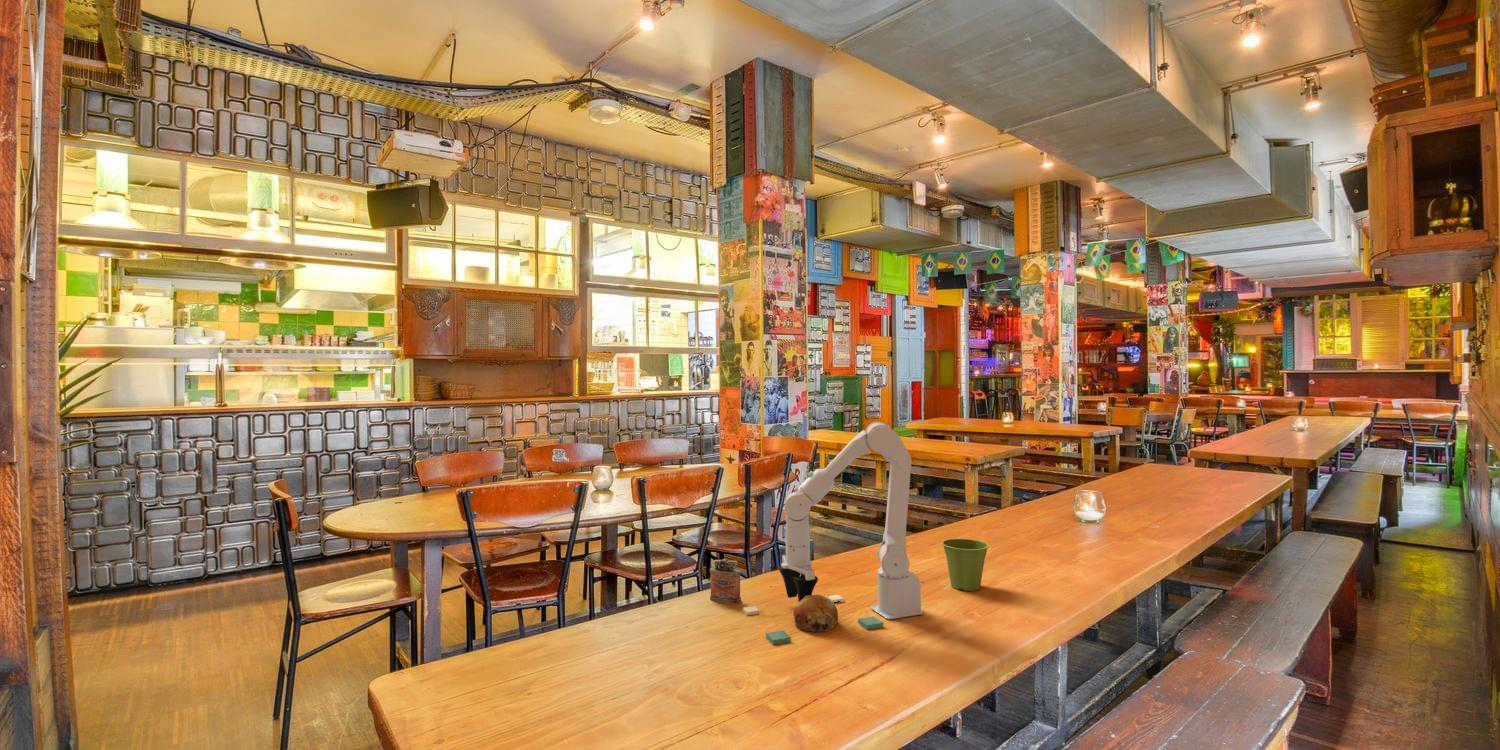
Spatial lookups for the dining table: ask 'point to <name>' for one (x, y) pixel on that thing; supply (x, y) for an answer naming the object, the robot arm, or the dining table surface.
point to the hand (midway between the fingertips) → (798, 601)
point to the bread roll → (815, 613)
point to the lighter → (725, 582)
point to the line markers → (783, 637)
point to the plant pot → (965, 562)
